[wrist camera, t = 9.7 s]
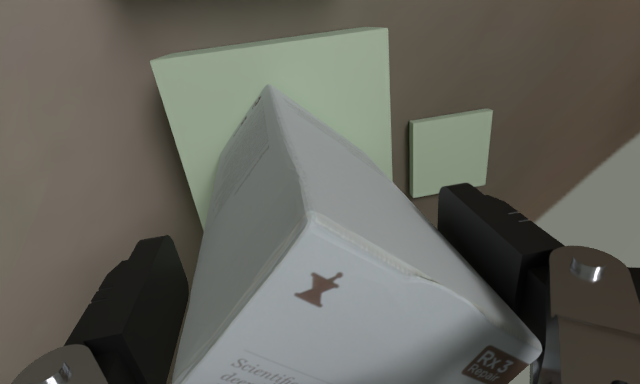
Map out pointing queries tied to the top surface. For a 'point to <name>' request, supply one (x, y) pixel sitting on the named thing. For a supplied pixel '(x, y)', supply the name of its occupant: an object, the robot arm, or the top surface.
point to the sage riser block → (288, 77)
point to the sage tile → (449, 151)
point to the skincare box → (332, 273)
